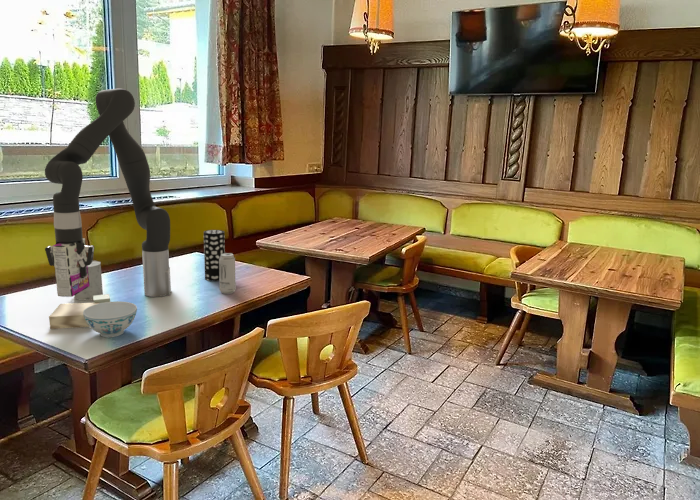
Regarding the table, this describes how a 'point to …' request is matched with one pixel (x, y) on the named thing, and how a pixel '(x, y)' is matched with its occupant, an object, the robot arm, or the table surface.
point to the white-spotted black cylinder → (213, 253)
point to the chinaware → (110, 317)
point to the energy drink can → (227, 273)
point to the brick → (101, 298)
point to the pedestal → (69, 316)
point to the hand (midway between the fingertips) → (72, 277)
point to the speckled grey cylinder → (92, 282)
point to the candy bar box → (69, 269)
